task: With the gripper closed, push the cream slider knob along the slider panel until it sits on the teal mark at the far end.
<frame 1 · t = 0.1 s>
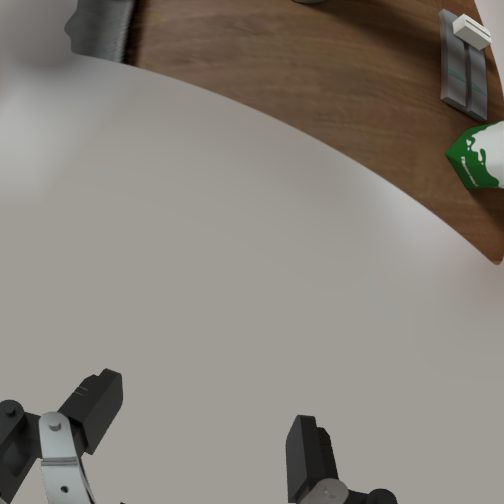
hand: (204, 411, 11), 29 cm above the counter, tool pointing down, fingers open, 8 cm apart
slider knob: (470, 33, 26), point 4 cm above the counter, slide at -5.5 cm
slider panel: (461, 63, 31), on the counter
milk carton: (465, 158, 35), on the counter
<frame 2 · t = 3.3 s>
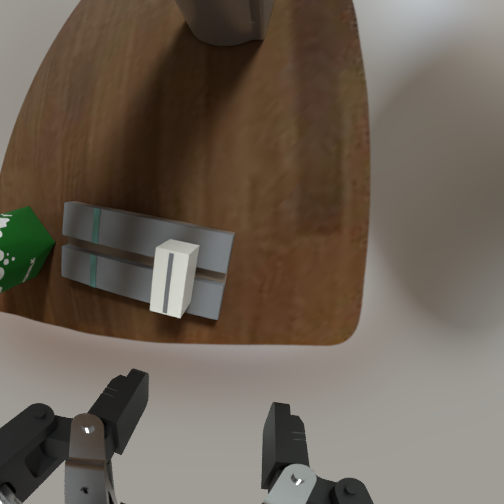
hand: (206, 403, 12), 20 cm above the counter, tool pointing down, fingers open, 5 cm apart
slider knob: (176, 275, 27), point 4 cm above the counter, slide at -5.5 cm
slider panel: (140, 254, 31), on the counter
milk carton: (33, 240, 31), on the counter
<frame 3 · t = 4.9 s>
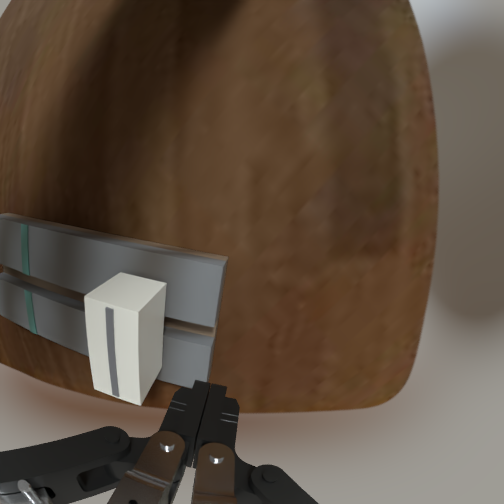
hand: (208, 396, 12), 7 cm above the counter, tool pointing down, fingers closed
slider knob: (131, 333, 15), point 4 cm above the counter, slide at -5.5 cm
slider panel: (89, 288, 19), on the counter
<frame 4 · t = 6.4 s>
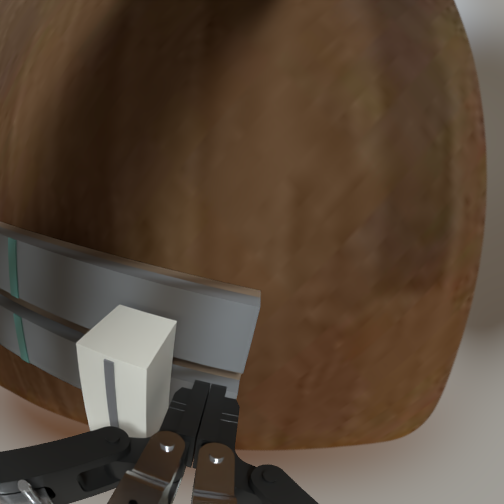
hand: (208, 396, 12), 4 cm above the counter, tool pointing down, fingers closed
slider knob: (134, 378, 12), point 4 cm above the counter, slide at -4.9 cm, touching gripper
slider panel: (89, 316, 16), on the counter
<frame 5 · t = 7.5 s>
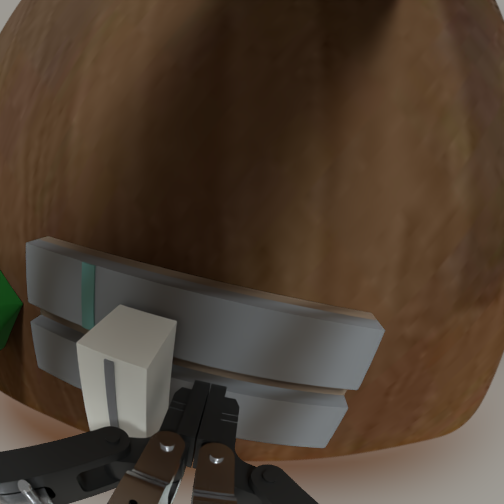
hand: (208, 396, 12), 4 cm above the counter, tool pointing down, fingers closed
slider knob: (134, 378, 12), point 4 cm above the counter, slide at 1.4 cm, touching gripper
slider panel: (181, 346, 16), on the counter
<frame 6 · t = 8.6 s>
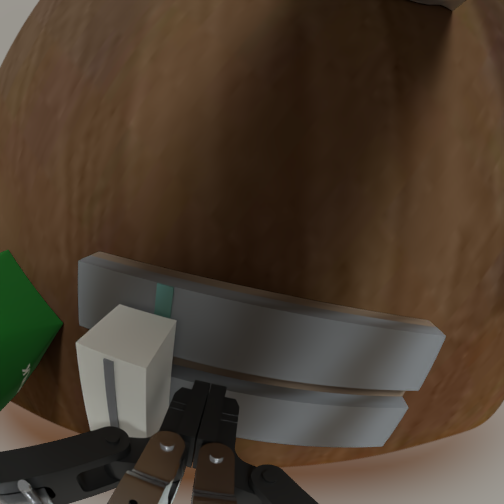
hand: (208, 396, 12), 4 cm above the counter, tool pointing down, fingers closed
slider knob: (134, 377, 12), point 4 cm above the counter, slide at 5.7 cm, touching gripper
slider panel: (254, 362, 16), on the counter
milk carton: (21, 310, 17), on the counter
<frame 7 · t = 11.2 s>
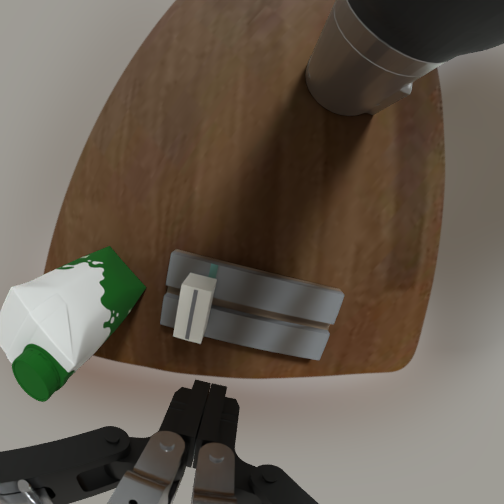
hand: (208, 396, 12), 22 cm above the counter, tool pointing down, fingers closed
slider knob: (196, 305, 31), point 4 cm above the counter, slide at 5.9 cm
slider panel: (250, 304, 35), on the counter
milk carton: (112, 282, 35), on the counter
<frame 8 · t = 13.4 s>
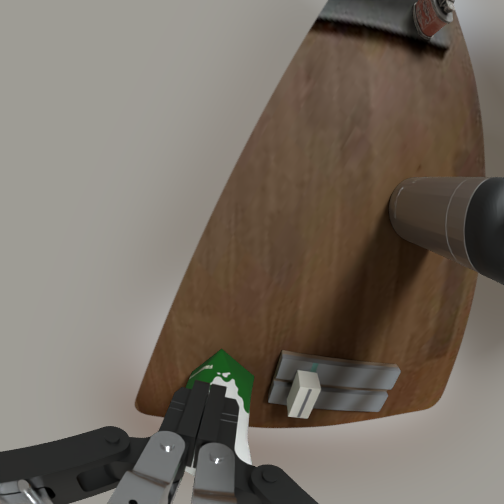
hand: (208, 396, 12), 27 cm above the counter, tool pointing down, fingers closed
slider knob: (302, 392, 39), point 4 cm above the counter, slide at 5.9 cm
lighter: (421, 21, 29), on the counter
slider panel: (334, 381, 42), on the counter
milk carton: (222, 373, 43), on the counter
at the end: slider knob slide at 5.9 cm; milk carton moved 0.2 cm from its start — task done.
